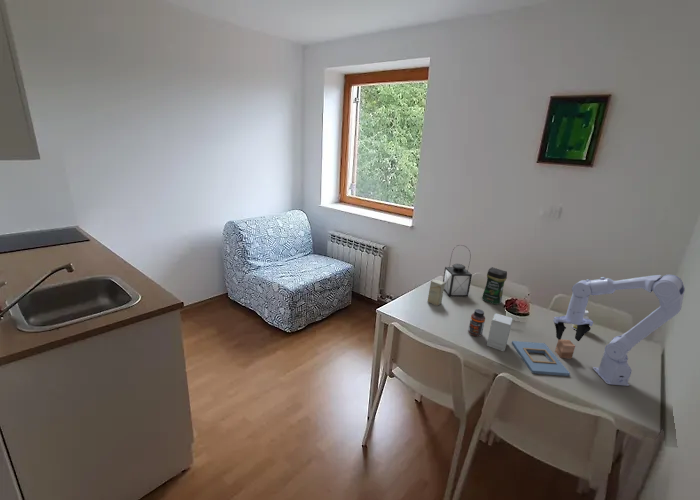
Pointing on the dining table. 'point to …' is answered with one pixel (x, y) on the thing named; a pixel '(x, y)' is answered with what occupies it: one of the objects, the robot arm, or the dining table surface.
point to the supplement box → (499, 332)
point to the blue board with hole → (540, 366)
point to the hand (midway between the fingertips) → (567, 339)
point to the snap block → (565, 348)
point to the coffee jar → (494, 285)
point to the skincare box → (436, 292)
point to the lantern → (457, 280)
